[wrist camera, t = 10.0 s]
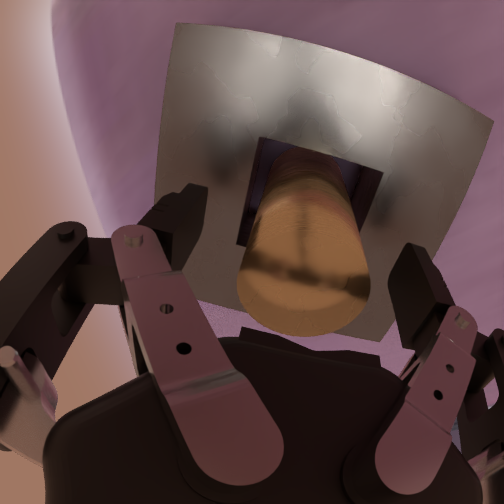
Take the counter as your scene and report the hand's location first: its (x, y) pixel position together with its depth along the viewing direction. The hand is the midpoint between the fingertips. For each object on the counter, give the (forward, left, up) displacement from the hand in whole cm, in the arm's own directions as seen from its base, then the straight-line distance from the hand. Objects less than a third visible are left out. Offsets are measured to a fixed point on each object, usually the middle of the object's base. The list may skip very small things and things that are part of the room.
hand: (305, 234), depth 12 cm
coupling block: (0, 0, -6) cm, 6 cm away
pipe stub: (0, 0, -6) cm, 6 cm away
